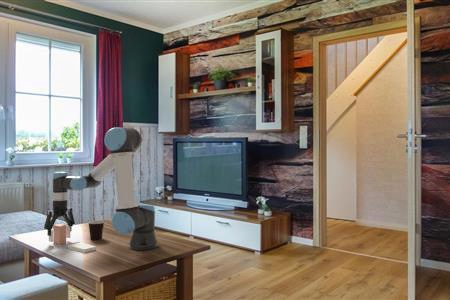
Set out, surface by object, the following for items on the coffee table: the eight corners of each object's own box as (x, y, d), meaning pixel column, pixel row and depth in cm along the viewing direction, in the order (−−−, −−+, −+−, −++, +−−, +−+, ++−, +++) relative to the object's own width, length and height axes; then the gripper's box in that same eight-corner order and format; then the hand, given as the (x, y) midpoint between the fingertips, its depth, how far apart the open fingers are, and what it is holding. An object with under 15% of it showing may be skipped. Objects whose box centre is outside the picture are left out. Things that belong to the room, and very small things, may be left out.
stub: (66, 243, 206) (66, 225, 206) (59, 244, 202) (59, 226, 202) (59, 241, 209) (60, 223, 209) (53, 242, 206) (53, 224, 206)
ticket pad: (95, 250, 194) (95, 246, 194) (84, 253, 188) (84, 249, 188) (79, 245, 202) (79, 241, 202) (67, 248, 196) (67, 244, 196)
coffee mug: (98, 241, 211) (99, 224, 210) (85, 240, 212) (85, 223, 212) (109, 236, 222) (109, 220, 222) (96, 235, 224) (96, 219, 224)
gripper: (74, 196, 217) (73, 234, 217) (36, 201, 198) (36, 242, 198) (81, 198, 213) (81, 236, 213) (44, 202, 194) (44, 245, 194)
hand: (59, 239), depth 206 cm, fingers open, 10 cm apart
